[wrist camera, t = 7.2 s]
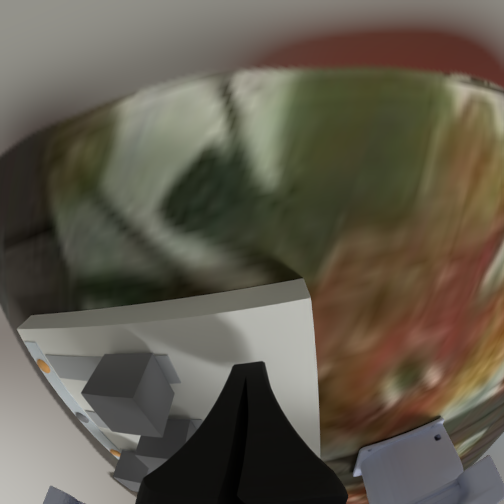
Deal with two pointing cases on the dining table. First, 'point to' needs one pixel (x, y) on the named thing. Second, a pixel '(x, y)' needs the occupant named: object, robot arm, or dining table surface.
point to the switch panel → (188, 352)
